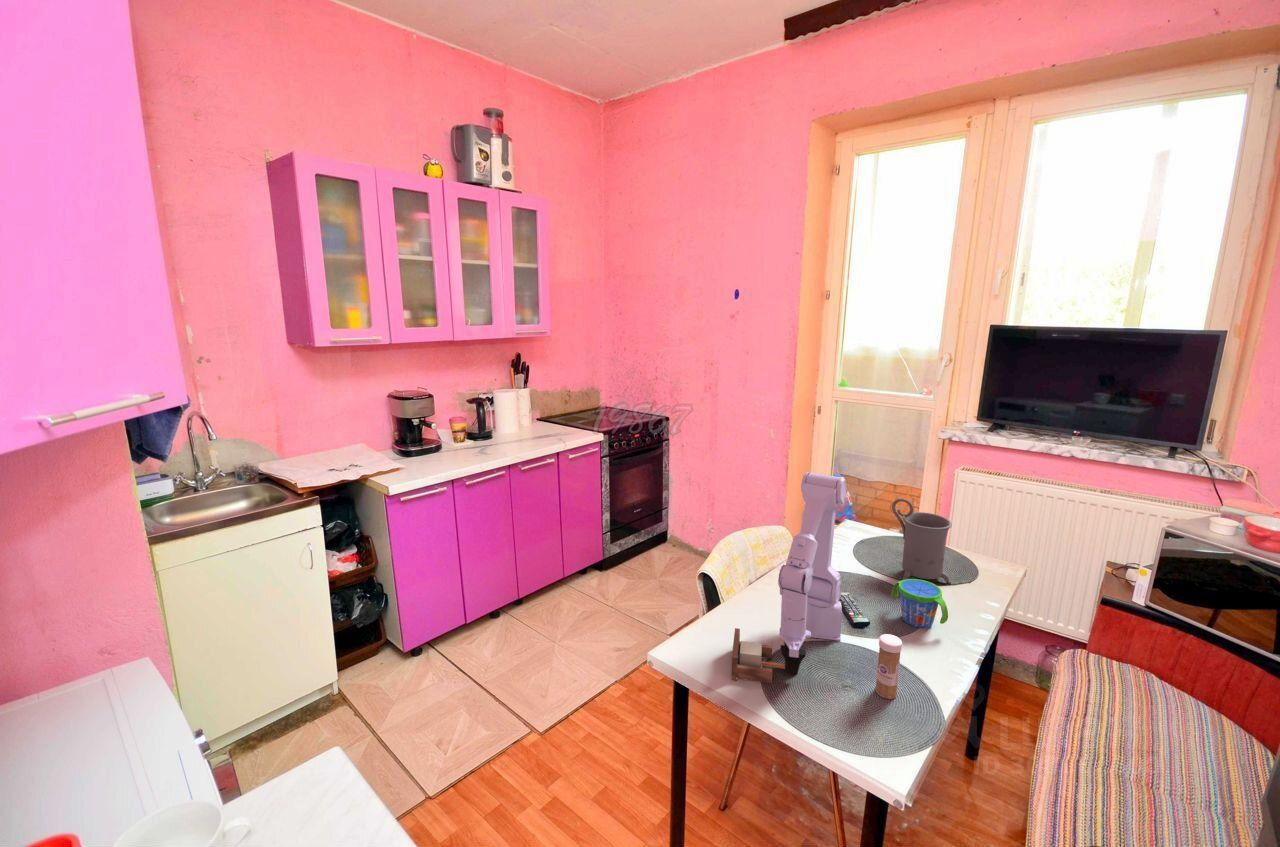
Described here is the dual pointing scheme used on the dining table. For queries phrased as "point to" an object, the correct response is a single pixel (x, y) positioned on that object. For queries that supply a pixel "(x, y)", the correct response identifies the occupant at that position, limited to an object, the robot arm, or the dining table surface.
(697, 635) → the dining table surface
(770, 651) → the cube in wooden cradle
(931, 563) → the mug
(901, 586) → the snack cup
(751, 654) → the multicoloured piece
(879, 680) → the sprinkles bottle
